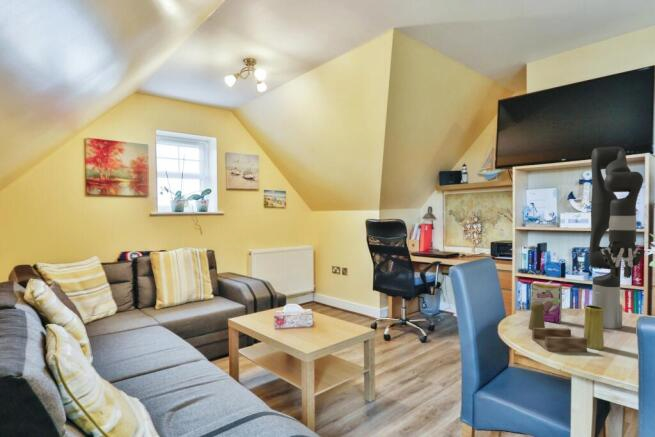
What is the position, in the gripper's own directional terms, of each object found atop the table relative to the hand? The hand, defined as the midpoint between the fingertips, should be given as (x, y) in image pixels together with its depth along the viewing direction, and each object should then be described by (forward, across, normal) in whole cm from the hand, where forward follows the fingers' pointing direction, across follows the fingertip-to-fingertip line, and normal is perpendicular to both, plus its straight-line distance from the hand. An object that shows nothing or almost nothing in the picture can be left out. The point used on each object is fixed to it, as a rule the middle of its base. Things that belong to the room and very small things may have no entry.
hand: (621, 277), depth 128 cm
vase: (+25, +9, 0) cm, 27 cm away
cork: (+25, +20, -18) cm, 37 cm away
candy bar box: (+25, +10, -31) cm, 41 cm away
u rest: (+25, +21, 0) cm, 33 cm away
